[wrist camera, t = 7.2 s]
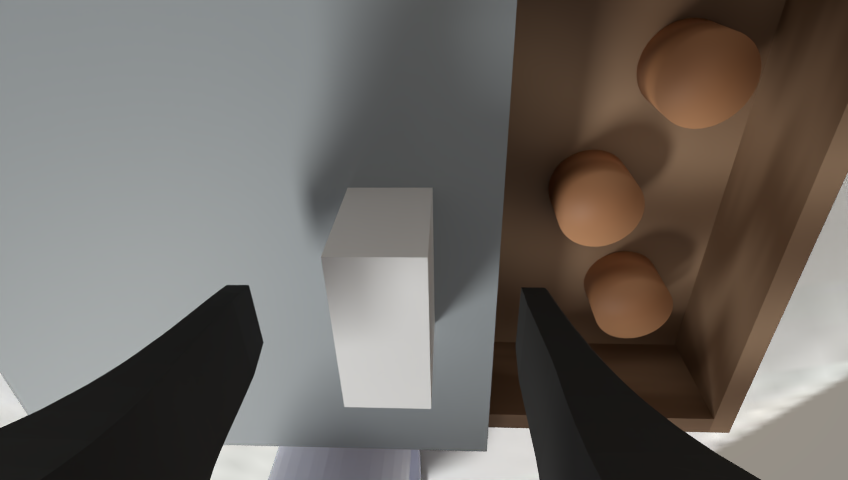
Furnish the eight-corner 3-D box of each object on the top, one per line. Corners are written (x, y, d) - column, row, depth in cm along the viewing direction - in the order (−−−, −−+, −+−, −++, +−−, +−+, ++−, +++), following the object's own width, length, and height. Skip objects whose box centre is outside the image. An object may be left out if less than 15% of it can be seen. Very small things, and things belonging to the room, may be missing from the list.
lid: (485, 432, 21) (492, 542, 17) (58, 422, 22) (-22, 523, 18) (518, -102, 11) (552, -112, 8) (-250, -80, 12) (-553, -79, 9)
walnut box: (681, 345, 25) (728, 432, 21) (316, 340, 26) (290, 422, 22) (828, -97, 15) (973, -103, 11) (241, -81, 16) (166, -81, 12)
